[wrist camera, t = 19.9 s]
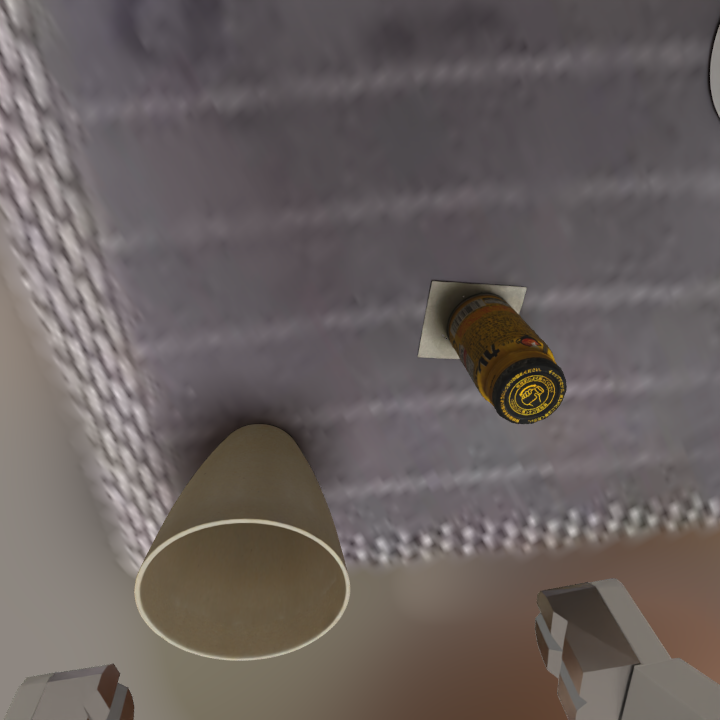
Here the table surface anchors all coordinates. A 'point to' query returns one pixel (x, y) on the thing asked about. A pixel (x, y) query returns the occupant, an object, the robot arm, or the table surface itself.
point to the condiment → (494, 348)
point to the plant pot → (246, 555)
